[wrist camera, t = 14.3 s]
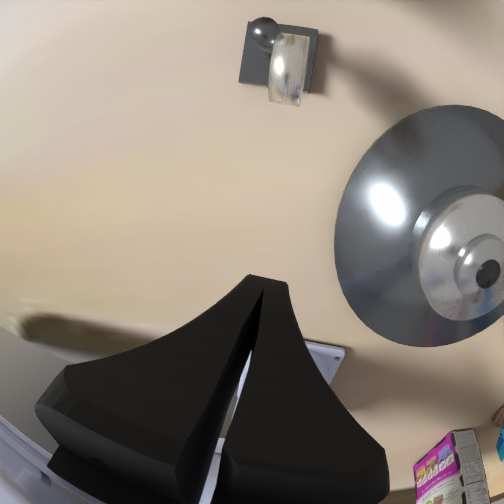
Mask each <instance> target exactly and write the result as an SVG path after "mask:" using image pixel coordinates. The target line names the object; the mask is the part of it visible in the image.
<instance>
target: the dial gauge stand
mask: <svg viewBox="0 0 504 504" xmlns="http://www.w3.org/2000/svg"><path fill="white" fill-rule="evenodd" d="M317 37H318V30H317V29H311V28H305V27H299V26H291V25H283V24H277V23H276V22H275V21H274V20H273V19H271V18H267V17H261V18H258V19H256V20H254V21H253V22H249V21H248V26H247V31H246V37H245V44H244V50H243V56H242V62H241V69H240V76H239V83H242V84H251V85H259V86H267V87H268V95H269V101H270V102H274V103H280V104H286V105H292V106H298V107H299V106H300V102H301V98H302V93H303V92H305V93H309V89H310V82H311V76H312V70H313V63H314V57H315V50H316V43H317Z"/></svg>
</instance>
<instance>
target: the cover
mask: <svg viewBox="0 0 504 504" xmlns="http://www.w3.org/2000/svg"><path fill="white" fill-rule="evenodd" d="M409 254H410V262H411V267H412V270H413V272H414V274H415V276H416V278H417V280H418V282H419V284H420V286H421V288H422V290H423V292H424V294H425V296H426V298H427V300H428V302H429V304H430V305H431V307H432V308H433V309H434V310H435V311H436V312H437V313H438V314H440V315H441V316H443V317H445V318H447V319H451V320H458V321H463V320H470V319H474V318H477V317H480V316H482V315H484V314H486V313H488V312H490V311H491V310H493V309H494V308H495V307H497V306H498V305H499V304H500V303H501V302H502V301H503V300H504V201H503V200H501V199H500V198H498V197H496V196H494V195H493V194H491V193H489V192H488V191H486V190H484V189H482V188H480V187H477V186H472V185H460V186H455V187H452V188H450V189H447V190H446V191H444V192H442V193H440V194H439V195H438V196H436V197H435V198H434V199H433V200H432V201H431V202H430V203H429V204H428V205H427V206H426V207H425V209H424V210H423V212H422V213H421V215H420V216H419V218H418V220H417V222H416V224H415V227H414V229H413V232H412V236H411V241H410V253H409Z"/></svg>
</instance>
